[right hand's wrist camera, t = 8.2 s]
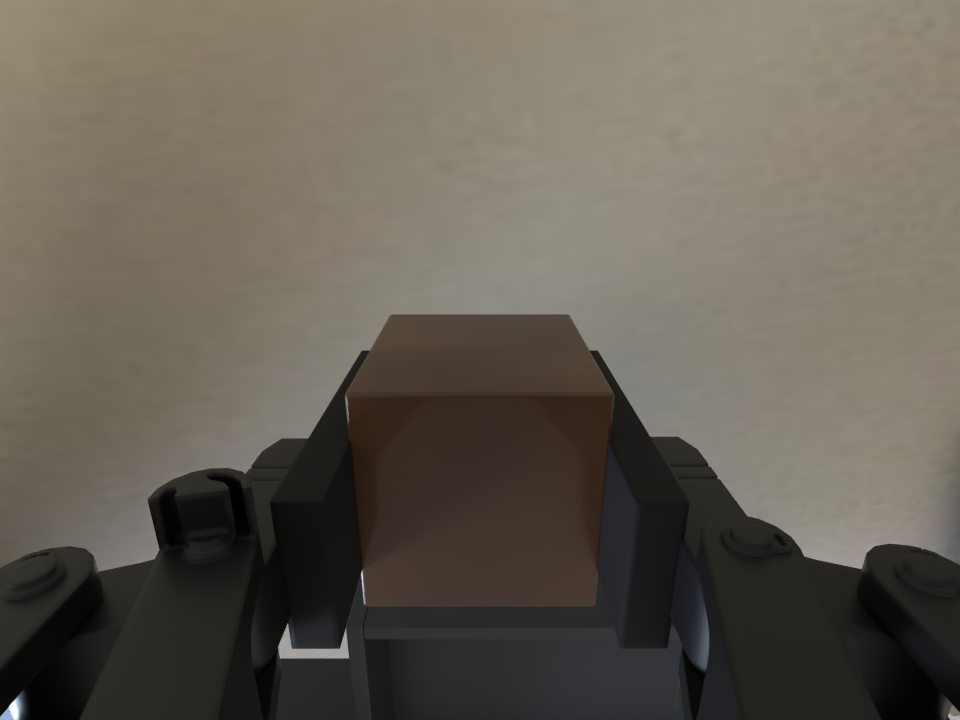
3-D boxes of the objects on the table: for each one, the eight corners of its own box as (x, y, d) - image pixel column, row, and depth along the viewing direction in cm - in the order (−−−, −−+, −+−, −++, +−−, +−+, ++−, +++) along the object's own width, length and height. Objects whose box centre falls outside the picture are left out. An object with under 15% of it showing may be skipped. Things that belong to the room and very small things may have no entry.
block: (569, 313, 14) (616, 393, 9) (561, 470, 15) (596, 608, 11) (389, 313, 14) (343, 393, 9) (398, 470, 15) (362, 608, 11)
